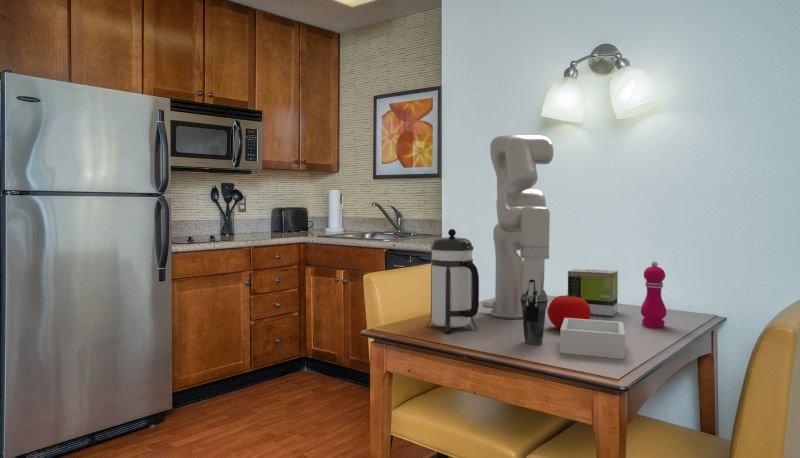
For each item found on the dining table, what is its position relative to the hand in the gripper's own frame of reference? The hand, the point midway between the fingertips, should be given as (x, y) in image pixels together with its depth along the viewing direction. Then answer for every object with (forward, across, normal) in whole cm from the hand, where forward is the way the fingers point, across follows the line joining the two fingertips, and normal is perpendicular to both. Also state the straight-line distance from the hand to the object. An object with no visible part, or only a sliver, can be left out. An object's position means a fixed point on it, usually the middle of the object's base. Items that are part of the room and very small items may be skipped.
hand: (533, 318), depth 146 cm
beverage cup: (+7, 0, 0) cm, 7 cm away
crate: (+7, 0, +15) cm, 16 cm away
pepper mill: (+7, -34, +32) cm, 47 cm away
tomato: (+7, -20, +8) cm, 23 cm away
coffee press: (+7, -8, -24) cm, 26 cm away
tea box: (+7, -50, +14) cm, 52 cm away
